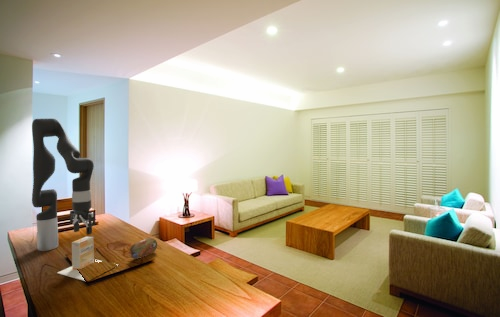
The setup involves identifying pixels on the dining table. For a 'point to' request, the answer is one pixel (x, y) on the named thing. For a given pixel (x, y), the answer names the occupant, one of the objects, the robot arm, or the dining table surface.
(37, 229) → the robot arm
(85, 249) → the supplement box
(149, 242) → the tin
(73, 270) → the felt mat
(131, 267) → the dining table surface
